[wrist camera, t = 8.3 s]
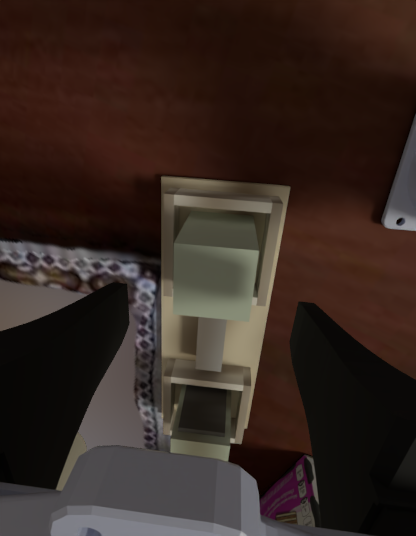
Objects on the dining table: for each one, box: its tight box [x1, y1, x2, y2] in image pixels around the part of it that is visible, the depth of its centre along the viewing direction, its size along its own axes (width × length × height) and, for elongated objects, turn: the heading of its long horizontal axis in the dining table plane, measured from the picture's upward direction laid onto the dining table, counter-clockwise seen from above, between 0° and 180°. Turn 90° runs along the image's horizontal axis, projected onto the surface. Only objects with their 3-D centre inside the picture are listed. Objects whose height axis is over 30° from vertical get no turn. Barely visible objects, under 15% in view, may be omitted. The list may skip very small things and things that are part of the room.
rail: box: [161, 176, 290, 462], centre depth 21 cm, size 8×22×6 cm, turn 176°
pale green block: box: [173, 211, 259, 322], centre depth 18 cm, size 4×4×6 cm
